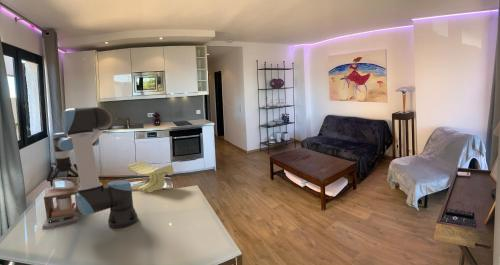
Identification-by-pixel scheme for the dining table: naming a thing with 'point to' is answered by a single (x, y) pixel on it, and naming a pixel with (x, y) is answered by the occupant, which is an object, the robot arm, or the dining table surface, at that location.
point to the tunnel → (50, 206)
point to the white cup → (64, 203)
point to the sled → (64, 212)
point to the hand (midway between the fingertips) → (67, 189)
